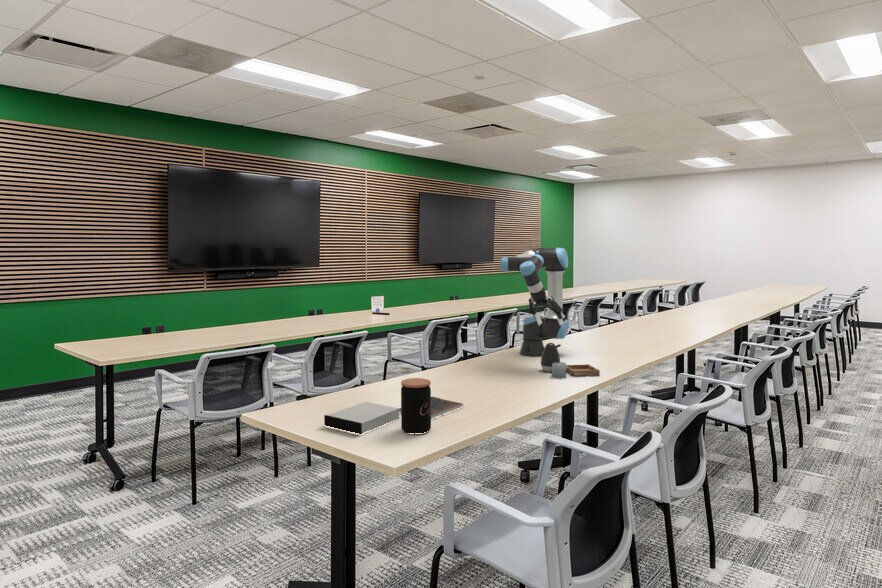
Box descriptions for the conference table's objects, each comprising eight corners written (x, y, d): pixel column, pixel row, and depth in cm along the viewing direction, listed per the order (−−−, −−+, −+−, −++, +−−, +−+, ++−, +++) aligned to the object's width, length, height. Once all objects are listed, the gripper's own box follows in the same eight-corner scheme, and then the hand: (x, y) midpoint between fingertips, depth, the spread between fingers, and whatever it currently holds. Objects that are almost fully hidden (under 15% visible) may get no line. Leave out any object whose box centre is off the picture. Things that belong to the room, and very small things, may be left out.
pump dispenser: (562, 373, 288) (562, 344, 286) (542, 373, 288) (542, 344, 287) (558, 369, 298) (559, 341, 296) (539, 369, 298) (539, 341, 297)
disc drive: (324, 428, 204) (323, 415, 204) (365, 413, 223) (364, 400, 222) (360, 437, 194) (360, 423, 194) (399, 420, 213) (399, 407, 213)
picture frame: (432, 402, 238) (397, 414, 221) (432, 396, 238) (397, 408, 221) (463, 409, 228) (429, 422, 211) (463, 403, 228) (429, 415, 211)
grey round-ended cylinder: (549, 375, 283) (550, 362, 282) (563, 375, 284) (563, 361, 283) (554, 379, 276) (554, 365, 275) (568, 378, 277) (568, 364, 276)
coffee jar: (423, 437, 193) (423, 386, 191) (396, 433, 197) (395, 383, 195) (435, 427, 203) (435, 379, 201) (408, 424, 207) (408, 376, 205)
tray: (563, 370, 294) (563, 365, 293) (588, 370, 295) (588, 364, 295) (572, 377, 280) (573, 371, 280) (599, 376, 282) (599, 370, 281)
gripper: (513, 294, 292) (528, 327, 299) (552, 292, 274) (567, 328, 281) (521, 287, 297) (535, 320, 304) (560, 284, 278) (574, 319, 286)
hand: (550, 324), depth 293 cm, fingers open, 13 cm apart
